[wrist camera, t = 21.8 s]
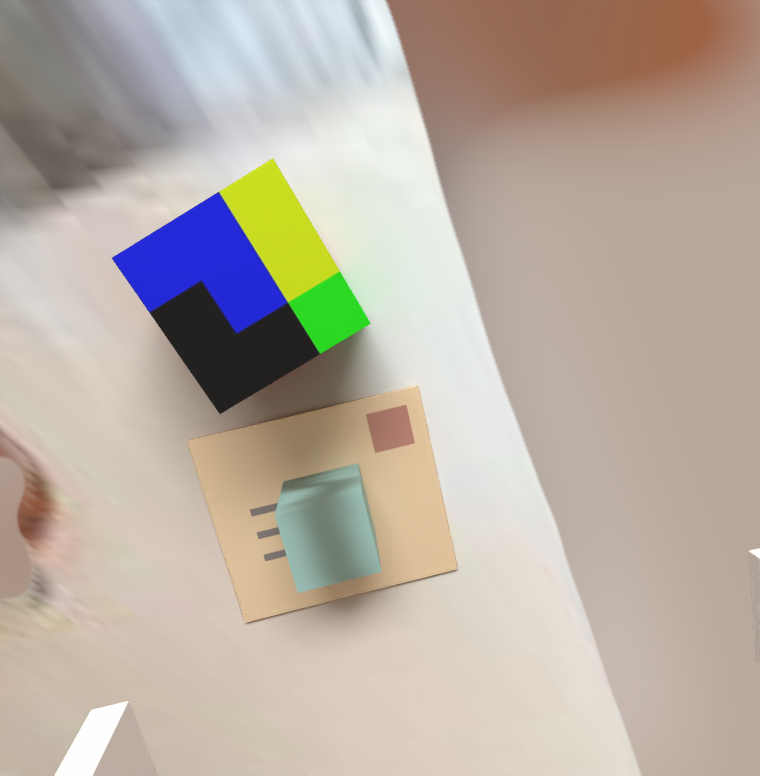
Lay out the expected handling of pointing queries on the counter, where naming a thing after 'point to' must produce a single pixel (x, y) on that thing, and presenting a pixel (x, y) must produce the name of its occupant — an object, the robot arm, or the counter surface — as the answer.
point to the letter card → (314, 455)
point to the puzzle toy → (243, 287)
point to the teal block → (327, 528)
